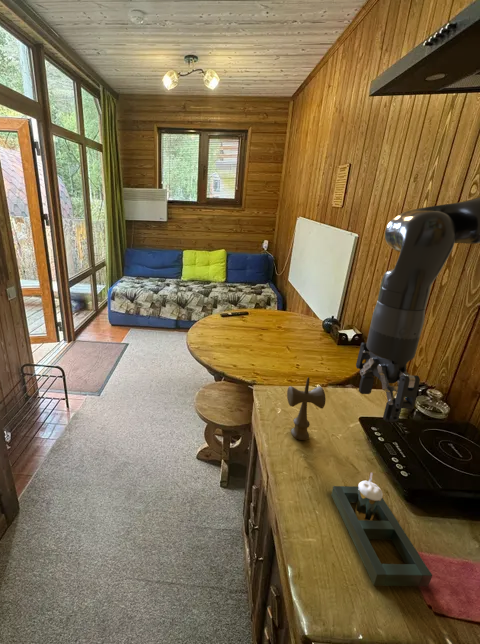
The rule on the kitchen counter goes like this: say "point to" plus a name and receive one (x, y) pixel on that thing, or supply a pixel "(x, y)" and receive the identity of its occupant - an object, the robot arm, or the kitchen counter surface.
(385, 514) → the frame
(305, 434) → the kendama
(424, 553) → the kitchen counter surface
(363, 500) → the milkshake
